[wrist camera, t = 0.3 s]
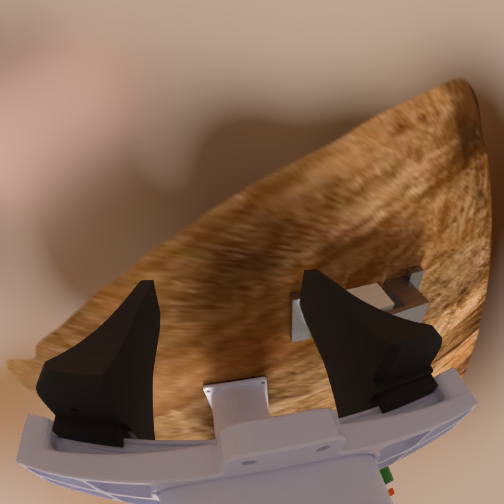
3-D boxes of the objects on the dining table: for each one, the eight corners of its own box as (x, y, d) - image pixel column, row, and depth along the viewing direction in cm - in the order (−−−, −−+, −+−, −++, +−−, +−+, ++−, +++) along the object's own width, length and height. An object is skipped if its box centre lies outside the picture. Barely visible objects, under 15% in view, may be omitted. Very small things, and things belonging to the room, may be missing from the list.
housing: (407, 305, 31) (428, 330, 27) (289, 335, 30) (302, 371, 25) (419, 265, 28) (444, 290, 24) (289, 293, 27) (305, 329, 22)
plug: (364, 336, 32) (377, 357, 29) (336, 344, 32) (347, 366, 29) (376, 282, 28) (394, 304, 25) (344, 290, 28) (360, 313, 25)
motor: (350, 440, 55) (374, 503, 38) (379, 429, 56) (406, 488, 39) (340, 452, 60) (361, 508, 43) (367, 443, 61) (390, 496, 44)
